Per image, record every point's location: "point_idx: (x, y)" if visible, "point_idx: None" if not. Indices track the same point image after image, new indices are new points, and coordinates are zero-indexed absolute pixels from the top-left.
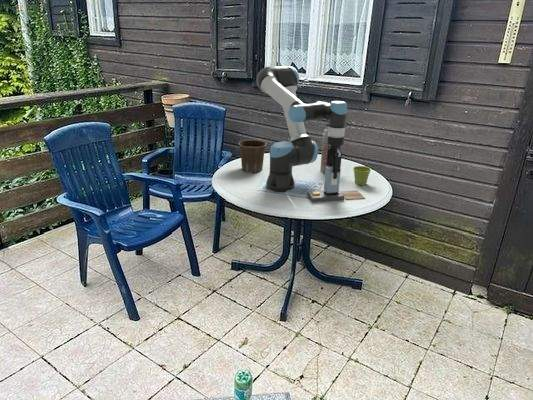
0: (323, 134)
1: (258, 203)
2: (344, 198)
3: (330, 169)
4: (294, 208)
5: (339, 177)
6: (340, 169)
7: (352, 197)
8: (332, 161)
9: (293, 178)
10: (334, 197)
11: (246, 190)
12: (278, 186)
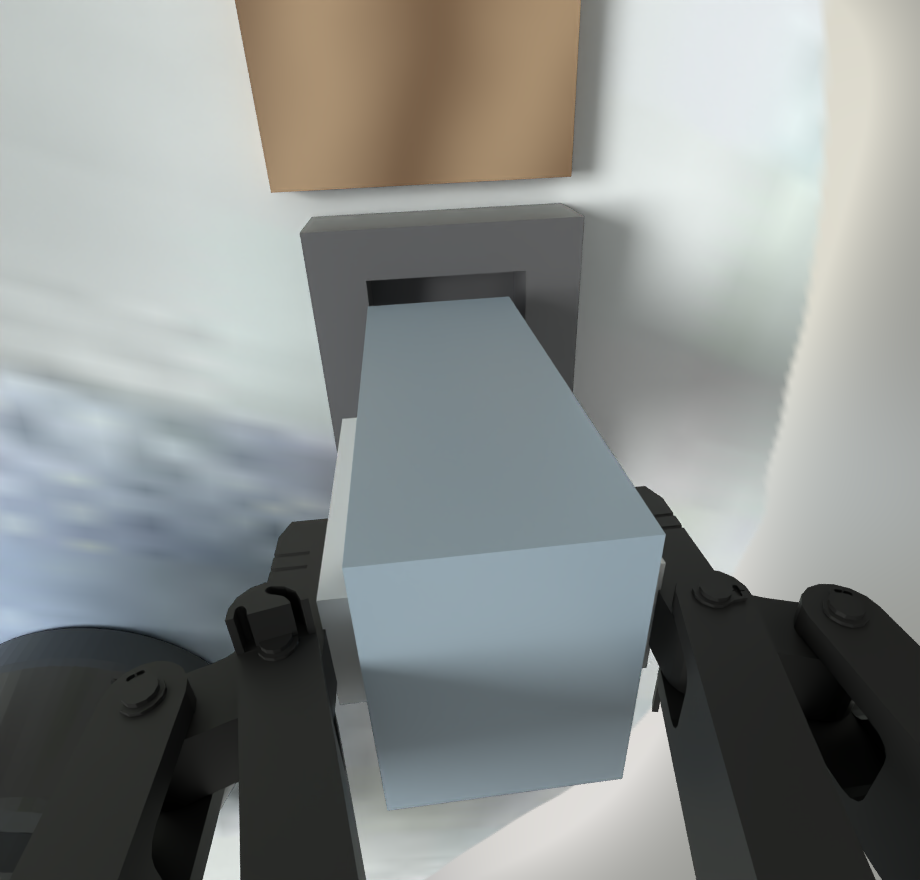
0: None
1: (463, 819)
2: (513, 178)
3: (623, 752)
4: None
5: (576, 411)
6: (655, 530)
7: (530, 35)
8: (362, 873)
9: (43, 721)
10: (571, 357)
11: (228, 872)
12: (233, 785)
